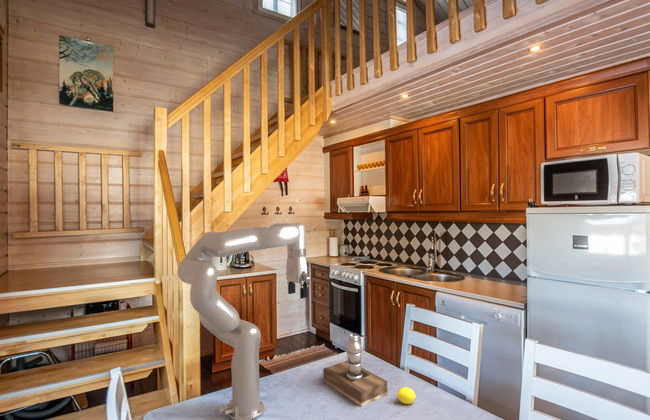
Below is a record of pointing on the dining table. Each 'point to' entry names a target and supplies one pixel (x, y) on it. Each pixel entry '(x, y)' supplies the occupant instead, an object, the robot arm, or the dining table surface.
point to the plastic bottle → (354, 358)
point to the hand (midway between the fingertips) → (297, 295)
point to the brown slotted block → (355, 384)
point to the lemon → (406, 395)
